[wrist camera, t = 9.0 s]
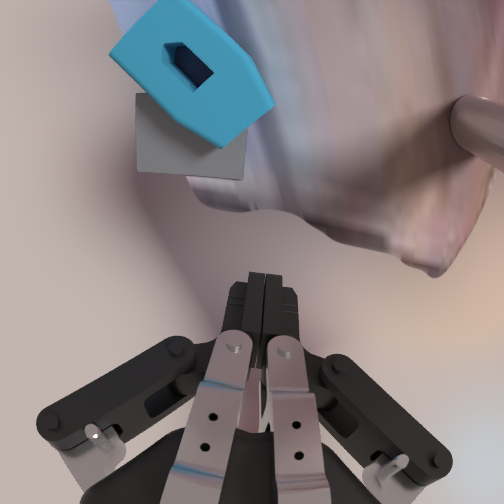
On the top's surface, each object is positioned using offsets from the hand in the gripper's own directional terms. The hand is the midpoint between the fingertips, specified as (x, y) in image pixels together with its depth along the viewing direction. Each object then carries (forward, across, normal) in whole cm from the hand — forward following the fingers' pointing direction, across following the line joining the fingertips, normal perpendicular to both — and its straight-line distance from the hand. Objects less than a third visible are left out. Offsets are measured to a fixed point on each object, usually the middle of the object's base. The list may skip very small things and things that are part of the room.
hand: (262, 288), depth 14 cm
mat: (+30, +12, 0) cm, 32 cm away
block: (+27, +3, -2) cm, 27 cm away
